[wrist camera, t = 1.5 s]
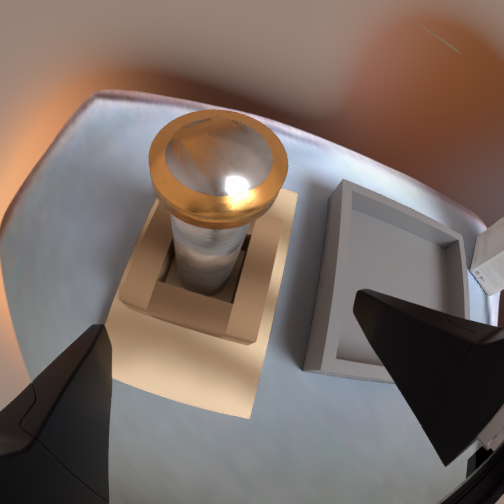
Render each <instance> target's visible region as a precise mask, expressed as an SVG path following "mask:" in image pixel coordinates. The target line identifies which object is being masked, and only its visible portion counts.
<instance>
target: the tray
mask: <svg viewBox="0 0 504 504" xmlns="http://www.w3.org/2000/svg"><path fill="white" fill-rule="evenodd" d="M361 289H371V290H374V291H377V292H380V293H383V294H386V295H390V296H393V297H396V298H399V299H402V300H406V301H409V302H412V303H415V304H418V305H421V306H425V307H428V308H431V309H434V310H437V311H440V312H443V313H447V314H450V315H453V316H457V317H460V318H464V319H467V320H470V305H469V286H468V274H467V264H466V255H465V248H464V241H463V235H461V234H459V233H458V232H456V231H454V230H452V229H450V228H448V227H447V226H445V225H443V224H441V223H439V222H437V221H435V220H433V219H431V218H429V217H427V216H425V215H423V214H421V213H419V212H417V211H415V210H413V209H411V208H409V207H407V206H405V205H402V204H400V203H398V202H396V201H394V200H392V199H389V198H387V197H385V196H383V195H380V194H378V193H376V192H374V191H371V190H369V189H366V188H364V187H362V186H359V185H357V184H354V183H352V182H349V181H347V180H344V179H343V180H342V181H341V183H340V184H339V185H338V187H337V188H336V189H335V191H334V192H333V193H332V195H331V196H330V198H329V199H328V209H327V219H326V228H325V236H324V244H323V252H322V260H321V267H320V274H319V281H318V288H317V294H316V300H315V306H314V312H313V318H312V324H311V330H310V335H309V340H308V346H307V351H306V356H305V361H304V366H303V370H302V371H306V372H311V373H317V374H323V375H329V376H335V377H342V378H349V379H356V380H364V381H372V382H381V383H392V384H395V382H394V381H393V379H392V378H391V376H390V375H389V373H388V372H387V370H386V369H385V367H384V365H383V364H382V362H381V361H380V359H379V358H378V356H377V355H376V353H375V352H374V350H373V349H372V347H371V346H370V344H369V342H368V340H367V339H366V337H365V335H364V333H363V331H362V329H361V327H360V325H359V323H358V322H357V320H356V318H355V316H354V314H353V305H354V300H355V295H356V292H357V291H358V290H361Z"/></svg>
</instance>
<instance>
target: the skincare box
mask: <svg viewBox="0 0 504 504" xmlns="http://www.w3.org/2000/svg"><path fill="white" fill-rule="evenodd" d="M470 271H471V273H472V274H473V275H474V276H475V278H476V279H477V280H478V282H479V283H480V285H481V287H482V288H483V290H484V291H485V293H486V294H487V295H488V296H491V295H493V294H495V293H497V292H499V291H501V290H503V289H504V217H503V218H501V219H500V220H499V221H497V222H496V223H495V224H494V225H492V226H491V227H490V228H488V229H487V230H486V231H484V232H483V233H481V234H480V235H479V236H477V239H476V245H475V250H474V255H473V259H472V264H471V268H470Z"/></svg>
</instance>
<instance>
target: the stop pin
mask: <svg viewBox="0 0 504 504" xmlns="http://www.w3.org/2000/svg"><path fill="white" fill-rule="evenodd" d="M149 167H150V173H151V180H152V185H153V190H154V192H155V195H156V197H157V199H158V200H159V202H160V203H161V204H162V206H163V207H164V208H165V209H166V210H167V211H168V212H169V213H170V215H171V224H172V232H173V240H174V247H175V254H176V261H177V268H178V274H179V279H180V281H181V283H182V285H183V286H184V288H185V289H186V290H188V291H191V292H195V293H198V294H201V295H204V296H213V295H215V294H217V293H219V292H221V291H222V290H223V289H224V288H225V286H226V285H227V283H228V281H229V278H230V276H231V273H232V270H233V268H234V265H235V262H236V260H237V257H238V255H239V252H240V249H241V247H242V244H243V241H244V239H245V236H246V233H247V231H248V228H249V226H250V223H251V222H253V221H255V220H257V219H258V218H260V217H261V216H263V215H264V214H265V213H266V212H267V211H268V210H269V209H270V208H271V206H272V205H273V204H274V202H275V200H276V198H277V196H278V194H279V192H280V189H281V187H282V185H283V183H284V181H285V179H286V175H287V172H288V158H287V154H286V151H285V148H284V146H283V145H282V143H281V141H280V140H279V138H278V137H277V136H276V135H275V134H274V133H273V132H272V131H271V130H270V129H269V128H268V127H267V126H265V125H264V124H262V123H261V122H259V121H257V120H255V119H253V118H251V117H249V116H246V115H244V114H240V113H237V112H232V111H226V110H202V111H196V112H192V113H189V114H186V115H183V116H181V117H178V118H176V119H175V120H173V121H171V122H170V123H168V124H167V125H166V126H164V127H163V128H162V129H161V130H160V131H159V133H158V134H157V135H156V137H155V138H154V140H153V142H152V144H151V147H150V151H149Z"/></svg>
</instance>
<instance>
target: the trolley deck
mask: <svg viewBox="0 0 504 504" xmlns="http://www.w3.org/2000/svg"><path fill="white" fill-rule="evenodd" d="M297 197H298V193H295V192H292V191H289V190H286V189H283V188H281V189H280V192H279V194H278V196H277V198H276V200H275V202H274V204H273V205H272V206H271V208H270V209H269V210H268V211H267V212H266V213H265V214H264V215H263V216H261V217H260V218H258V219H257V220H255V221H253V222H251V223H250V226H249V228H248V231H247V233H246V236H245V239H244V241H243V244H242V247H241V249H240V252H239V255H238V257H237V260H236V262H235V265H234V268H233V270H232V273H231V276H230V278H229V281H228V283H227V285H226V286H225V288H224V289H223V290H222V291H221V292H219V293H217V294H215V295H213V296H204V295H201V294H198V293H195V292H191V291H188V290H186V289H185V288H184V286H183V285H182V283H181V281H180V279H179V274H178V268H177V261H176V254H175V247H174V240H173V232H172V224H171V215H170V213H169V212H168V211H167V210H166V209H165V208H164V207H163V206H162V204H161V203H160V202H159V200H158V199H156V201H155V203H154V205H153V207H152V209H151V211H150V213H149V215H148V217H147V220H146V222H145V224H144V226H143V228H142V231H141V233H140V235H139V237H138V240H137V242H136V244H135V247H134V249H133V251H132V254H131V256H130V258H129V261H128V263H127V266H126V268H125V271H124V273H123V276H122V278H121V281H120V284H119V286H118V289H117V292H116V294H115V297H114V300H113V303H112V305H111V308H110V311H109V314H108V317H107V320H106V323H105V327H106V330H107V333H108V336H109V339H110V341H111V345H112V378H114V379H116V380H118V381H121V382H123V383H126V384H129V385H131V386H134V387H137V388H139V389H142V390H145V391H148V392H150V393H153V394H156V395H159V396H162V397H165V398H169V399H172V400H175V401H178V402H182V403H185V404H188V405H192V406H196V407H199V408H203V409H207V410H211V411H215V412H219V413H224V414H228V415H233V416H237V417H242V418H247V419H249V418H250V414H251V410H252V406H253V402H254V398H255V394H256V390H257V386H258V382H259V378H260V374H261V370H262V366H263V361H264V357H265V353H266V348H267V344H268V340H269V335H270V331H271V326H272V322H273V317H274V313H275V308H276V303H277V299H278V294H279V289H280V284H281V280H282V275H283V270H284V265H285V260H286V255H287V250H288V245H289V240H290V234H291V229H292V224H293V218H294V213H295V208H296V202H297Z"/></svg>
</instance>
